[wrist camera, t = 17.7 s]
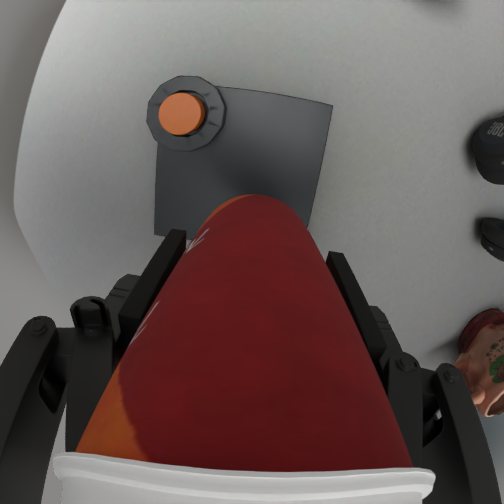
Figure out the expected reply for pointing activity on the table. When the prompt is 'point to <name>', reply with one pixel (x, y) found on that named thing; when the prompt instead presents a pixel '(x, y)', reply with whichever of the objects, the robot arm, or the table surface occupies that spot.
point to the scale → (235, 152)
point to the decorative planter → (484, 361)
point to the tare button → (181, 113)
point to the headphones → (491, 178)
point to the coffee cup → (245, 384)
